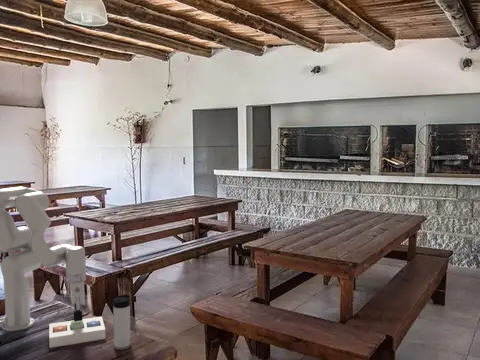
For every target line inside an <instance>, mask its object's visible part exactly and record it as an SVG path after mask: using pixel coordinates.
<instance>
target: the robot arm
mask: <svg viewBox="0 0 480 360" xmlns="http://www.w3.org/2000/svg"><path fill="white" fill-rule="evenodd" d="M49 206H50V199H49V196H48V195H47V194H46V193H44V192H43V191H42V190H37V189H33V188H29V187H25V186H13V187H4V188H0V251H1V252H3V253H10V252H14V251H16V250H20V251H19V252H16V253H15V252H14V253H13V254H10V255H8V256H5V258H3V260H2V261H1V264H0V271H1V275H2V278H3V285H4V286H3V287H4V288H3V289H4V304H5V305H4V306H5V307H4V309H5V311H4V312H5V316H2V317H0V325H1V329H2V330H3V331H5V332H6V331H7V332H17V331H23V330H26V329H29V328H31V327H32V326H34V324H35V319H34V318H33V317H31V299H30V297H31V296H30V295H31V294H30V284H29V283H30V282H29V280H28V278H27V277H26V276H25V274H28V273H30V272H32V271H35V270H37V269H39V268H40V267H41V266H44V267H45V268H53V267H56V266H58V265H60V264H64V263H65V276H66V283H69V289H70V298H71V299H70V301H71V305H72V307H73V320H74V321H75V322H76V321H82V319H83V310H82V306H86V297H85V296H86V295H85V293H86V292H85V281H86V280H87V272H86V271H87V270H86V269H87V268H86V249H85V247H84V246H82V245H81V246H80V245H71V244H68V243H61V244H57V245H54V246H52V247H50V246H49V245H48V243H47V241H46V239H45V236H44V235H45V230H47V229H48V228H49V227H50V225H51V223H52V220H51V219H50V217H49V215H48V214H47V212H46V211H45V210H47V209H48V208H49ZM9 208H15V209H16V210H17V211H18V213H19V215H20V216H21V217H22V220H23V221H24V222H25V224H26V226H25V225H24V226H23V225H22V226H21V225H20V226H16V223H15V221H14V220H15V219H14V217H13V216H12V214H11V213H9V211H8V210H6V209H9Z"/></svg>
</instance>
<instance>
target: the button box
mask: <svg viewBox="0 0 480 360" xmlns="http://www.w3.org/2000/svg"><path fill="white" fill-rule="evenodd" d="M82 320H83V328H82V329H75V330H71V322H72V321H74V319H73V320H68V321H67V320H66V321H61V322H60V321H59V322H52V323H49V324H48V325H49V326H48V327H49V328H48V329H49V332H48V336H49V337H48V341H49V348H50V349H51V348H57V347H63V346H70V345H76V344H81V343H87V342H94V341H101V340H106V339H107V338H106V336H107V335H106V327H105V323H104V319H103V316H96V317H95V316H94V317H88V318H82ZM91 321H99V326H95V327H88V323H89V322H91ZM57 326H66V331H62V332H55V333H54V328H55V327H57Z"/></svg>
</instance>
